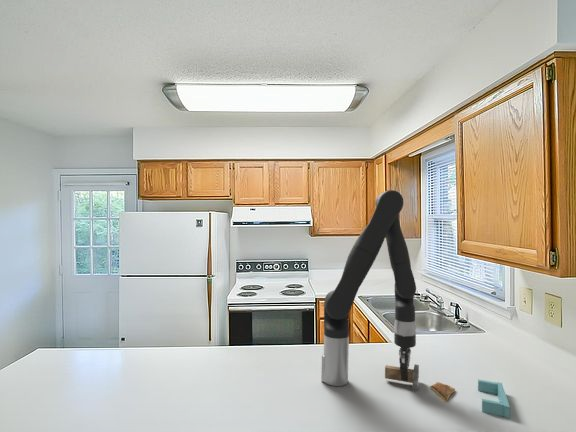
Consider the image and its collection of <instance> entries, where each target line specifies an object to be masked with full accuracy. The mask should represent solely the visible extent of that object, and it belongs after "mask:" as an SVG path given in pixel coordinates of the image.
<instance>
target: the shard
mask: <svg viewBox="0 0 576 432" xmlns="http://www.w3.org/2000/svg"><path fill="white" fill-rule="evenodd" d="M429 388H430V390H432V391H434V392H435V393H436V394H437V395H438V396H439V398H441V399H442V400H443V401H444V402H446V403H447V402H448V400H449V398H450V396H451V395H452V394H453V393H454V392H455V391H456V389H455V388H454V387H452V386H451V385H448V384H446V383H443V382H442V383H441V382H438V381H436V382H435V383H434V384H432V385H430V386H429Z"/></svg>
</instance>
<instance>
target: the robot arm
mask: <svg viewBox="0 0 576 432" xmlns="http://www.w3.org/2000/svg"><path fill="white" fill-rule="evenodd" d="M374 203H375V209H374V211H373V213H372V215H371V218H370V220H369V222H368V224H367V225H365V228H363V230H362V231H361V233H360V234H359V236H358V237H357V239H356V240H355V242H354V244H353V245H352V248H351V250H350V252H349V254H348V256H347V259H346V262H345V265H344V269H343V271H342V275H341V278H340V280H339V282H338V284H337V286H336V287H335V289H334V290H331V291H329V292H328V293H327V294H326V296H325V298H324V303H323V354H322V356H321V382H324V383H325V384H326V385H330V386H333V387H341V386H345V385H347V384H348V382H349V355H350V353H349V350H350V349H349V348H350V347H349V346H350V325H349V324H350V323H349V313H350V312H351V309H352V307H353V304H354V301H355V299H356V296H357V294H358V292H359V289H360V287H361V286H362V284H363V282H364V280H365V279H366V277H367V275H368V274H369V271H370V270H371V268H372V266H373V265H374V262H375V261H376V258H377V257H378V255H379V253H380V251H381V248H382V246H383V244H384V241H386V247H387V252H388V257H389V262H390V267H391V270H392V272H393V277H394V299H395V300H394V301H395V306H394V307H395V308H394V309H395V311H394V316H395V317H394V326H393V327H394V331H393V332H394V334H393V335H394V340H393V341H394V344H395V346H398V347H399V350H398V356H399V360H398V361H399V367H400V370H401V380H402V381H401V382H404V381H407V380H408V369H409V368H410V362H411V354H412V349H411V348H414V347H416V345H417V343H416V341H417V336H416V335H417V333H416V332H417V331H416V330H417V328H416V327H417V326H416V307H415V304H414V296H415V295H416V293H417V286H416V285H417V284H416V281H415V277H414V273H413V269H412V266H411V265H412V264H411V258H410V254H409V248H408V246H407V243H406V239H405V237H404V234H403V231H402V227H401V224H400V213H401V211H402V210H403V207H404V197H403V196H402V194H401V193H400V192H399V191H396V190H392V189H390V190H386V191H383V192H381V193H379V194H378V195H377V196H376V199H375V202H374Z"/></svg>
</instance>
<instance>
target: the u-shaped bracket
mask: <svg viewBox="0 0 576 432" xmlns="http://www.w3.org/2000/svg"><path fill="white" fill-rule="evenodd" d="M477 391H479V392H482V393H488V394H494V395H497V397H498V401H497V400H496V401H495V400H491V399H490V400H489V399H486V398H481V412H482V413H487V414H491V415H495V416H501V417H504V418H507V419H510V418H511V415H510V414H511V406H510V403H509V400H508V397H507V394H506V391H505V389H504V385H503V383H502V382H499V381H498V382H496V381H489V380H484V379H477Z"/></svg>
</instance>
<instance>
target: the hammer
mask: <svg viewBox="0 0 576 432" xmlns="http://www.w3.org/2000/svg"><path fill="white" fill-rule="evenodd" d="M413 365H414V366H413V369H412V368H408V380H407V381H402V380H401V370H400V366H393V365H387V364H386V365H385V367H384V379H387V380H392V381H399V382H405V383H411V384H412V389H418V386H419V385H418V384H419V378H420V369H419V367H420V365H419V364H416V363H415V364H413Z"/></svg>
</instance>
